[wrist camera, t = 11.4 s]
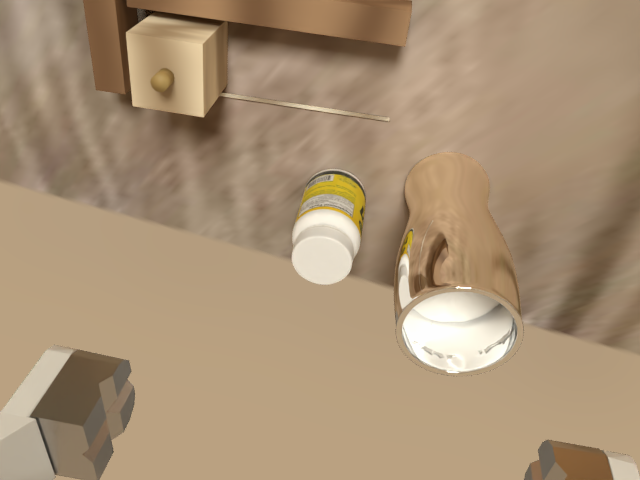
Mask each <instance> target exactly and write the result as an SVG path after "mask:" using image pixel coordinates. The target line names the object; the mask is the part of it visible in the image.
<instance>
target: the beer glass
mask: <svg viewBox="0 0 640 480" xmlns="http://www.w3.org/2000/svg"><path fill="white" fill-rule="evenodd" d="M404 192H405V199H406V203H407V206H408V209H409V212H410V215H409V220H408V223H407V226H406V229H405V232H404V235H403V238H402V241H401V244H400V247H399V251H398V255H397V260H396V265H395V276H394V304H395V318H396V338H397V342H398V344H399V347H400V348H401V350H402V351H403V353H404V354H405V355H406V356H407V357H408V358H409V359H410V360H411V361H412V362H414V363H415V364H416V365H418V366H420V367H422V368H424V369H426V370H428V371H431V372H434V373H437V374H441V375H447V376H472V375H478V374H482V373H485V372H488V371H491V370H493V369H495V368H498V367H499V366H501V365H503V364H504V363H506V362H507V361H508V360H510V359H511V358H512V357H513V356H514V354H515V353H516V352H517V351H518V349H519V347H520V345H521V343H522V340H523V336H524V326H523V322H522V315H521V302H520V292H519V286H518V280H517V274H516V270H515V266H514V263H513V259H512V256H511V253H510V251H509V248H508V246H507V244H506V241H505V239H504V237H503V235H502V233H501V232H500V230H499V228H498V226H497V224H496V222H495V221H494V219H493V217H492V215H491V213H490V211H489V209H488V200H489V193H490V184H489V178H488V175H487V173H486V171H485V170H484V168H483V167H482V166H481V165H480V164H479V163H478V162H477V161H476V160H475V159H473V158H471V157H469V156H467V155H465V154H461V153H457V152H442V153H437V154H433V155H430V156H428V157H426V158H424V159H423V160H421V161H420V162H418V163H417V164H416V165H415V166H414V167H413V168H412V170H411V171H410V173H409V175H408V177H407V179H406V182H405V188H404Z"/></svg>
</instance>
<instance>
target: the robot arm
mask: <svg viewBox="0 0 640 480" xmlns="http://www.w3.org/2000/svg"><path fill="white" fill-rule="evenodd" d="M130 373H131V367H130V363H129V360H124V359H120V358H115V357H110V356H106V355H101V354H96V353H91V352H87V351H82V350H78V349H73V348H68V347H63V346H58V345H53V346H52V347H50V348H49V349H48V350H46V351H45V352H44V354H43V355H42V356H41V358H40V359H39V360H38V362H37V363H36V365H35V366H34V367H33V369H32V370H31V371H30V373H29V374H28V375H27V377H26V378H25V379H24V381H23V382H22V384H21V385H20V387H19V388H18V389H17V390H16V392H15V393H14V395H13V396H12V397H11V398H10V400H9V401H8V403H7V404H6V405H5V407H4V408H3V409H2V411H0V480H53V479H55V477H56V476H55V475H59V476H65V477H71V478H76V479H82V480H99V479H100V477H101V475H102V474H103V472H104V470H105V468H106V466H107V464H108V462H109V460H110V458H111V456H112V454H113V452H114V451H113V446H112V441H111V440H112V439H114V438H115V437H117V436H118V435H120V434H121V433H123V432H124V430H125V428H126V426H127V424H128V422H129V420H130V417H131V414H132V410H133V407H134V400H135V390H134V386H133V385H132V384H131V383H130V382H129V381H128V379H127V378H128V377H129V375H130ZM538 453H539V460H537V461H535V462H532V463H531V464H530V465H529V467H528V469H527V471H526V473H525V478H524V480H640V475H639V472H638V469H637V466H636V462H635V461H634V460H633V458H632V457H631V456H629V455H626V454H620V453H615V452H609V451H604V450H600V449H597V448H592V447H586V446H580V445H575V444H569V443H563V442H558V441H552V440H546V441H544V442H542V444H541V446H540V447H539V449H538Z"/></svg>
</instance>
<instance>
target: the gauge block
mask: <svg viewBox="0 0 640 480" xmlns="http://www.w3.org/2000/svg"><path fill="white" fill-rule="evenodd" d="M126 40H127V51H128V61H129V72H130V83H131V93H132V104H133V106H135V107H142V108H148V109H154V110H160V111H167V112H173V113H179V114H185V115H192V116H198V117H204V116H205V115H206V114H207V112H208V111H209V109H210V108H211V107H212V105H213V104H214V103H215V101H216V100H217V98H218V97H219V96H220V94H221V93H222V91H223V90H224V89H225V87H226V86H227V53H228V21H223V20H216V19H209V18H202V17H195V16H188V15H181V14H174V13H167V12H160V11H155V12H154V13H152V14H151V15H149V16H148V17H147V18H145V19H144V20H142V21H141V22H140V23H138V24H137V25H135V26H134V27H133V28H131V29H130V30H128V31H127V32H126Z"/></svg>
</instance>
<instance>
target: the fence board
mask: <svg viewBox="0 0 640 480" xmlns="http://www.w3.org/2000/svg"><path fill="white" fill-rule="evenodd" d="M83 3H84V10H85V16H86V23H87V30H88V37H89V44H90V51H91V58H92V65H93V72H94V79H95V86H96V90H99V91H106V92H113V93H119V94H126V93H127V92H129V91H130V90H131V83H130V72H129V61H128V51H127V40H126V32H127V31H128V30H130V29H131V28H133V27H134V26H135V25H137V24H138V19H137V8H140V9H147V10H153V11H160V12H167V13H174V14H181V15H188V16H195V17H202V18H209V19H216V20H223V21H230V22H237V23H244V24H251V25H258V26H265V27H272V28H279V29H286V30H293V31H300V32H307V33H314V34H321V35H328V36H335V37H342V38H349V39H355V40H362V41H369V42H376V43H383V44H390V45H397V46H404V47H405V44H406V39H407V33H408V28H409V23H410V18H411V12H412V1H410V0H83ZM220 96H223V97H230V98H237V99H243V100H250V101H257V102H263V103H270V104H277V105H283V106H290V107H297V108H303V109H310V110H317V111H323V112H330V113H336V114H343V115H350V116H356V117H363V118H370V119H376V120H383V121H390V118H389V117H382V116H376V115H369V114H362V113H356V112H349V111H342V110H336V109H329V108H322V107H316V106H309V105H302V104H296V103H289V102H282V101H276V100H269V99H262V98H256V97H249V96H242V95H236V94H229V93H221V94H220Z"/></svg>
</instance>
